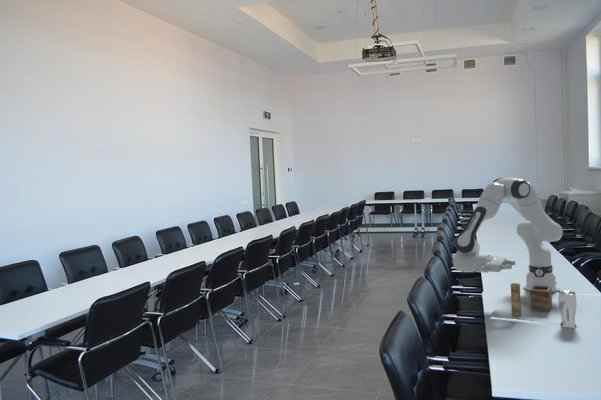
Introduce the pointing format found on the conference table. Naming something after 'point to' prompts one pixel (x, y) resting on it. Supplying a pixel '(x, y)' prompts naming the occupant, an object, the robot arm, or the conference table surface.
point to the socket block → (541, 298)
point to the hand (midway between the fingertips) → (513, 265)
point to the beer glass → (567, 308)
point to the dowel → (515, 300)
